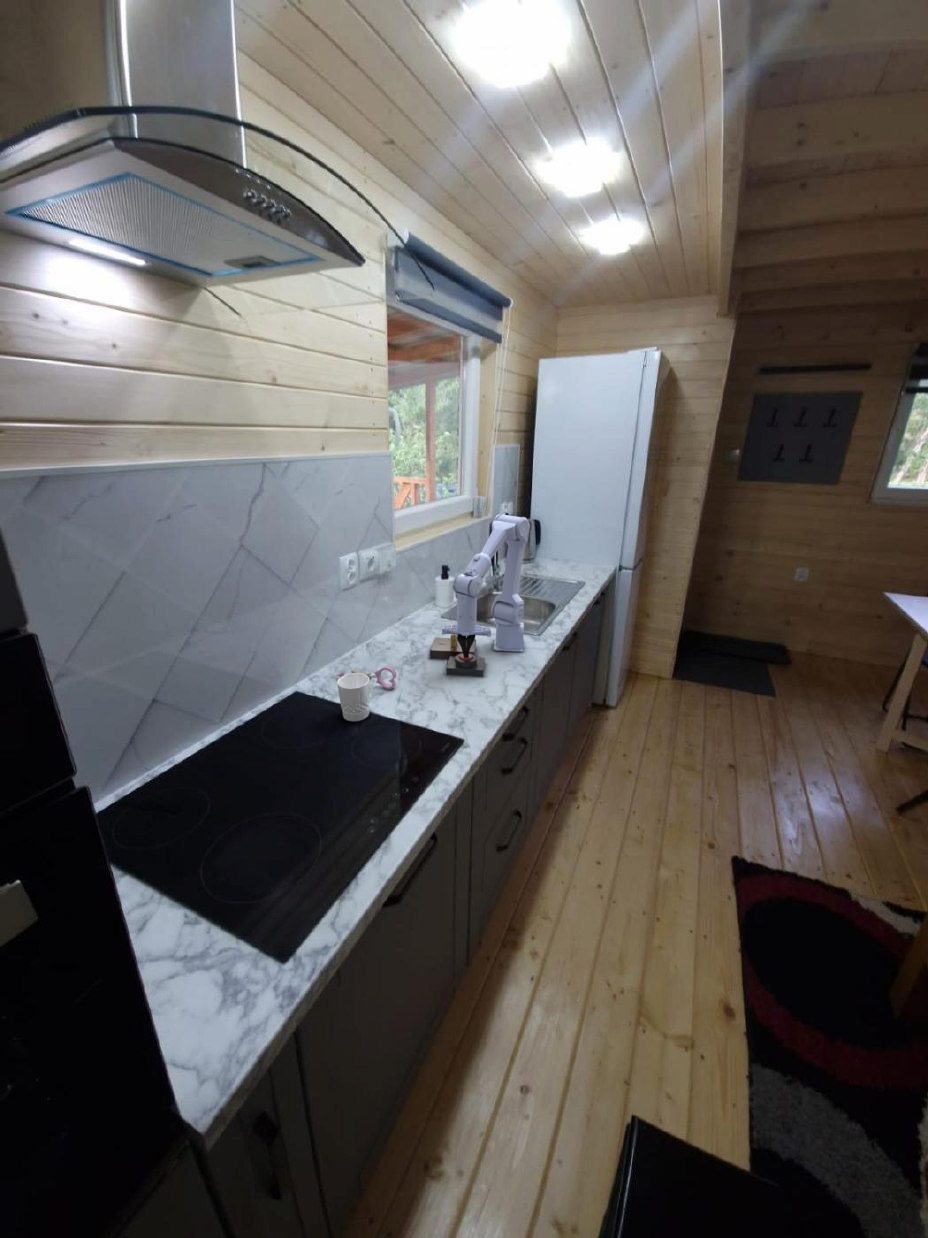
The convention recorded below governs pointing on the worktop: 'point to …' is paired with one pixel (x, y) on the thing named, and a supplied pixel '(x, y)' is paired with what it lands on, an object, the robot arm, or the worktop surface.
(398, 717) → the worktop surface
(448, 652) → the plate
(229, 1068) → the worktop surface
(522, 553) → the robot arm
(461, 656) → the bell button
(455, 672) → the doorbell
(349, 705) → the white cup
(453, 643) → the lock knob
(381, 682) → the decorative key
